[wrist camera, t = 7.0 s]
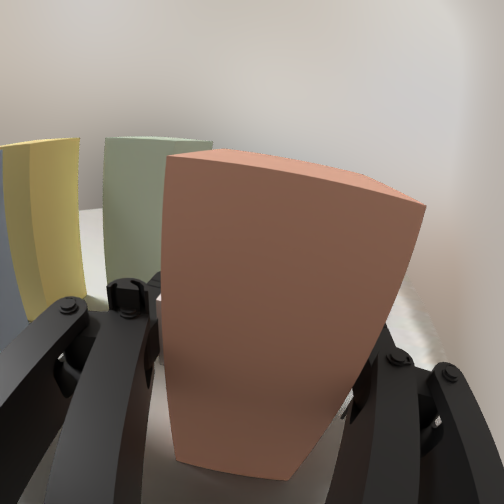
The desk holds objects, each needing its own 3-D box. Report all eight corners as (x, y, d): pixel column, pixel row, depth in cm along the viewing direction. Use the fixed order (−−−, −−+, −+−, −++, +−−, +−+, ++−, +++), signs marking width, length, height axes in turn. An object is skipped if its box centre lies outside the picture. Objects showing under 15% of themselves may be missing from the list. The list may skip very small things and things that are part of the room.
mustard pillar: (10, 312, 15) (-15, 148, 10) (43, 282, 19) (32, 140, 15) (54, 330, 15) (30, 143, 10) (87, 294, 20) (79, 137, 15)
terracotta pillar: (176, 460, 9) (166, 155, 5) (202, 385, 14) (224, 148, 9) (288, 480, 9) (426, 205, 5) (292, 402, 14) (363, 174, 9)
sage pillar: (110, 309, 19) (105, 137, 14) (146, 281, 23) (151, 136, 18) (167, 332, 18) (175, 140, 13) (197, 297, 22) (212, 141, 18)
